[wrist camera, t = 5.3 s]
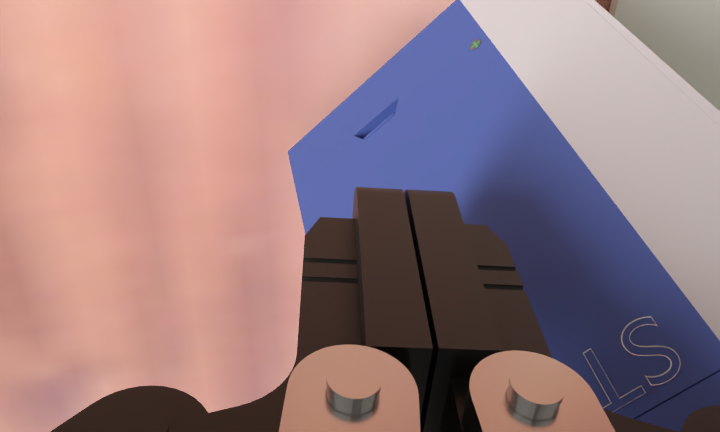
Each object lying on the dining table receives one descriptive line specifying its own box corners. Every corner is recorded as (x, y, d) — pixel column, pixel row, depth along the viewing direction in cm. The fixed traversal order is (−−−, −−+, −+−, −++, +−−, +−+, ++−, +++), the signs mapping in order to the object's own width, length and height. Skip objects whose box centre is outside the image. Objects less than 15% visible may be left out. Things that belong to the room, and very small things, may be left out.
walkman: (354, 200, 19) (503, 680, 10) (286, 149, 18) (396, 672, 9) (581, 13, 17) (1033, 442, 8) (527, -67, 15) (1024, 366, 6)
